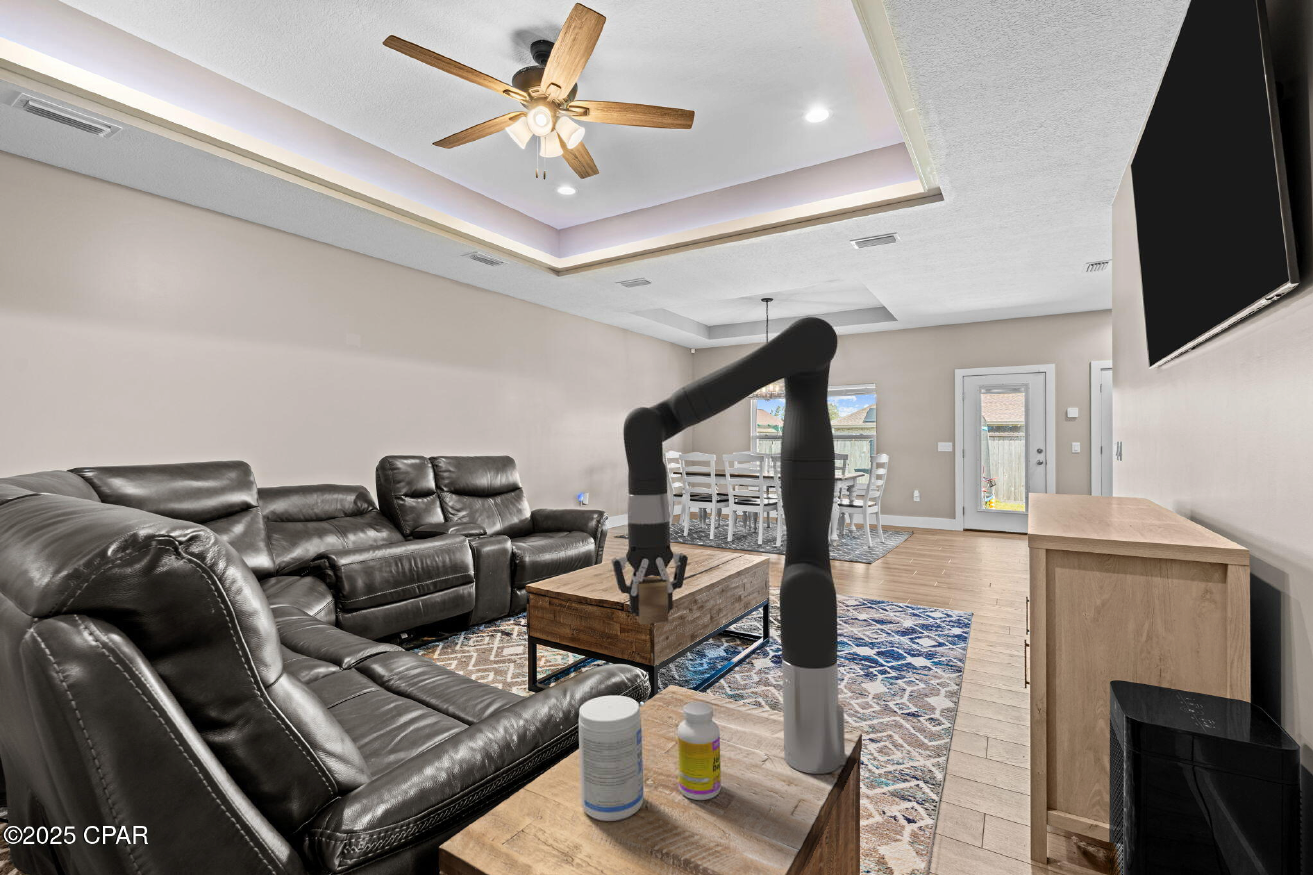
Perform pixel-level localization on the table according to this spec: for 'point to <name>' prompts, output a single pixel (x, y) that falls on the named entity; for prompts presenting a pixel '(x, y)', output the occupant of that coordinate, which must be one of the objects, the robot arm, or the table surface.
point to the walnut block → (653, 600)
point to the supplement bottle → (699, 752)
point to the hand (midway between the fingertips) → (651, 613)
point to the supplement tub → (611, 757)
